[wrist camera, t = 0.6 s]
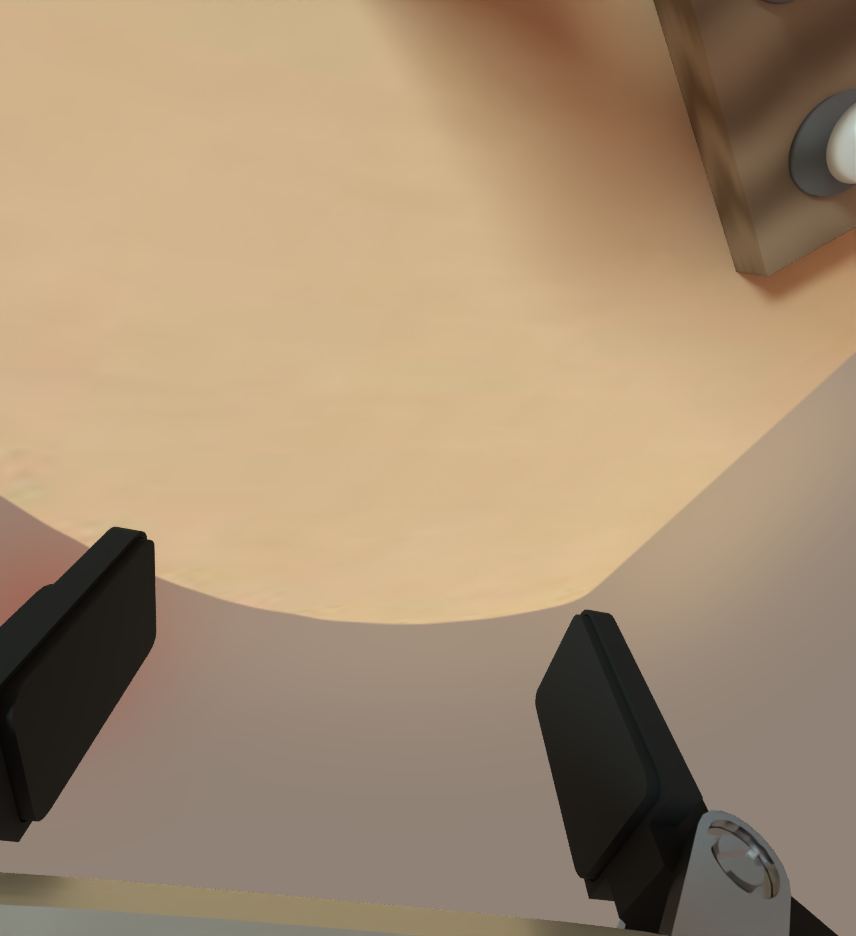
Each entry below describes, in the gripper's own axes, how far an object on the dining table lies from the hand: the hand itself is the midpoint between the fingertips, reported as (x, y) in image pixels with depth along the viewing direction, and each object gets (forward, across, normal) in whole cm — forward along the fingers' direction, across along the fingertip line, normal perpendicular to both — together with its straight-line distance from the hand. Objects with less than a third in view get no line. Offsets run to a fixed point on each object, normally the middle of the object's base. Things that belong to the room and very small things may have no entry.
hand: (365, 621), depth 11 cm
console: (+34, -21, -23) cm, 47 cm away
